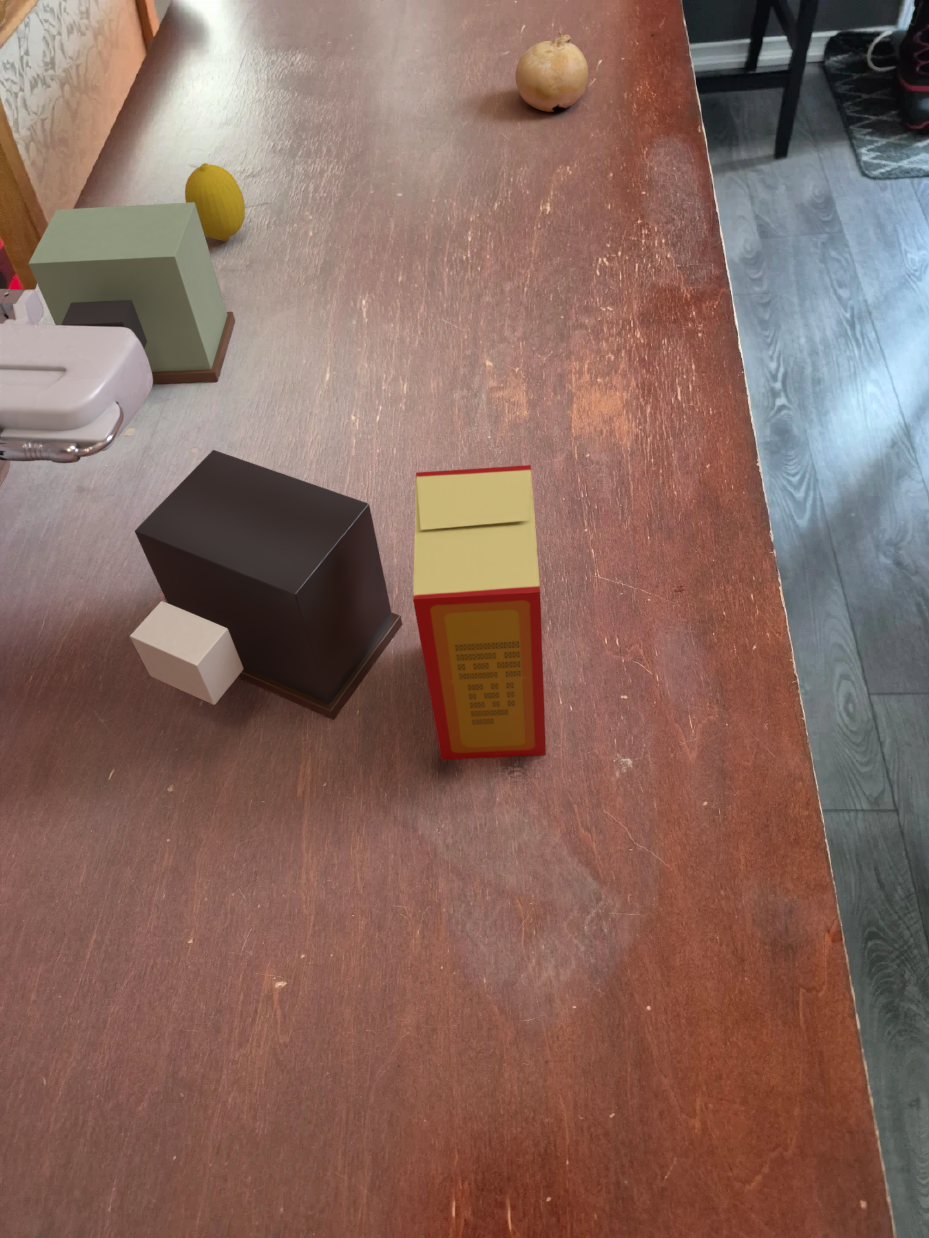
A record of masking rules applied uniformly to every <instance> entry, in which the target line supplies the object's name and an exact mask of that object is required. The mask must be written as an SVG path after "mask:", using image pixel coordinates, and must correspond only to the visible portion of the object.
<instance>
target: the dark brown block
mask: <svg viewBox="0 0 929 1238" xmlns="http://www.w3.org/2000/svg"><path fill="white" fill-rule="evenodd" d="M61 325H65V326H101V327H125V328H129V329H130V330H132V331H133V333H134V334H135V335H136V337H137V338H138V339H139V341H140V343H141V344H142V346H143V349H145V346H146V344H147V339H146V337H145V334H144V331H143V329H142V326H141V323H140V321H139V318H138V315H137V312H136V310H135V307H134V304H133V302H132V300H117V301H95V302H73V303H71V304H70V306H69V308H68V311H67V313H66V315H65V317H64V319H63V321H62V324H61Z"/></svg>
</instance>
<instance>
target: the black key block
mask: <svg viewBox="0 0 929 1238" xmlns="http://www.w3.org/2000/svg"><path fill="white" fill-rule="evenodd" d="M134 533H135V535H136V538H137V540H138V543H139V544H140V546H141V549H142V552H143V553H144V555H145V557H146V559H147V562H148V564H149V566H150V568H151V570H152V573H153V575H154V577H155V579H156V583H157V584H158V586H159V588H160V590H161V593H162V595H163V597H164V599H165V602H166V603H168V604H170V605H173V606H175V607H178V608H180V609H182V610H185V611H187V612H189V613H192V614H194V615H197V616H199V617H201V618H204V619H206V620H209V621H211V622H213V623H216V624H218V625H220V626H223V627H225V628H227V629H228V631H229V633H230V636H231V638H232V641H233V643H234V646H235V648H236V651H237V653H238V656H239V658H240V661H241V663H242V666H243V668H244V669H243V670H242V672H241V673H240V674H239V675H238V677H237V678H238V679H241V680H243V681H245V682H248V683H249V684H252V685H254V686H257V687H259V688H261V689H263V690H266V691H268V692H270V693H272V694H274V695H277V696H279V697H282V698H283V699H286V700H288V701H290V702H293V703H295V704H298V705H299V706H302V707H304V708H307V709H309V710H311V711H313V712H316V713H317V714H320V715H321V716H322V715H323V716H325V717H327V718H329V719H332V720H334V719H335V718H336V717H337V716H338V714H339V713H340V711H341V710H342V708H344V706H345V704H346V703H347V701H348V700H349V699H350V698H351V696H352V694H353V693H354V692H355V691H356V689H357V688H358V686H359V685H360V684H361V683H362V681H363V680H364V679H365V677H366V676H367V674H368V673H369V671H370V670H371V669H372V667H373V666H374V664H375V663H376V662H377V660H378V659H379V657H380V656H381V655H382V653H383V652H384V651H385V650H386V648H387V646H388V645H389V643H390V642H391V641H392V640H393V638H394V636H395V635H396V634H397V633H398V631H399V630H400V629H401V627H402V625H403V621H402V616H401V615H400V614H397V613H394V612H392V608H391V604H390V599H389V594H388V589H387V584H386V578H385V575H384V570H383V564H382V560H381V555H380V554H381V553H380V550H379V544H378V541H377V536H376V530H375V526H374V521H373V516H372V511H371V506H370V503H368V502H365V501H362V500H360V499H358V498H357V499H356V498H354V497H351V496H348V495H346V494H342V493H340V492H337V491H334V490H331V489H328V488H325V487H323V486H319V485H316V484H313V483H311V482H308V481H305V480H302V479H299V478H296V477H293V476H290V475H288V474H284V473H281V472H279V471H276V470H273V469H270V468H267V467H265V466H263V465H258V464H256V463H253V462H250V461H247V460H245V459H241V458H239V457H236V456H233V455H230V454H227V453H225V452H221V451H218V450H215V449H212V450H211V451H210V452H209V454H207V456H205V457H204V459H202V461H201V462H200V463H198V465H197V466H196V467H195V468H194V469H193V470H192V471H190V473H189V474H188V475H187V476H186V477H185V478H184V479H183V480H182V481H181V482H180V483H179V484H178V485H177V486H176V487H175V489H173V491H171V492H170V494H169V495H167V497H165V498H164V500H163V501H162V502H161V503H160V504H159V505H157V506H156V508H155V509H154V510H153V511H152V512H151V513H150V514H149V515H148V516H147V517H146V518H145V519H144V521H143V522H141V524H139V526H138V527H137V528H136V529H134Z"/></svg>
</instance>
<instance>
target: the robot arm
mask: <svg viewBox="0 0 929 1238" xmlns="http://www.w3.org/2000/svg"><path fill="white" fill-rule="evenodd" d="M44 314H45V309H44V304H43V302H42V301H41V298H40V296H39V293H38V291H37V290H35V289H8V288H0V487H2V485H3V484H4V481H5V480H6V478H7V476H8V474H9V471H10V467H11V462H36V461H38V462H39V461H40V462H41V461H47V462H49V461H50V462H52V463H54V464H55V463H56V464H73V463H77V462H79V461H80V460H81V459H82V458H86V457H91V456H94V455H96V454H97V455H98V453H100V452H105V451H107V450H108V449H110V448H111V447H112V446H113V445H114V443H115V442H116V440H117V439H118V437H119V436H120V435H121V434H122V433H123V431H124V430H125V429H126V428H127V426H128V425H129V424H130V423H131V421H132V420H133V418H134V417H135V416H136V414H137V413H138V412H139V410H140V408H141V407H142V405H143V404H144V402H145V401H146V399H147V398H148V396H149V394H150V392H151V390H152V388H153V385H154V384H153V377H152V372H151V368H150V365H149V362H148V358H147V356H146V353H145V351H144V349H143V346H142V344H141V343H140V341H139V339H138V338H137V337H136V335H135V334H134V333H133V331H132V330H130V329H129V328H125V327H101V326H65V325H55V324H40V321H41V320H42V318H43V317H44Z"/></svg>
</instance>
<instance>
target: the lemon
mask: <svg viewBox="0 0 929 1238" xmlns="http://www.w3.org/2000/svg"><path fill="white" fill-rule="evenodd" d="M184 195H185V196H184V197H185V199H184V200H185V203H191V202H195V205H196V209H197V212H198V215H199V219H200V222H201V226H202V229H203V232H204V236H205V237H207V238H210V239H213V240H220V241H221V242H224V243H225V242H228V241H229V240H230V239H231V237H233V236H235V235H236V234H237V233H238V232H239V231H240V229H241V228H242V226H243V224H244V221H245V217H246V205H245V199H244V195H243V192H242V190H241V188H240V186H239V184H238V183H237V181H236V178H235V177H234V176H233V175H232V174H231V172H229V171H228V170H227V169H225V168H224V167H221V166H219V165H217V164H209V163H207V162H205V163H202V164H201V165H200V166H198V167H197V168H195V169H194V170H193V171H192V172H191V174H190V175H189V176H188V178H187V180H186V184H185V187H184Z"/></svg>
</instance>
